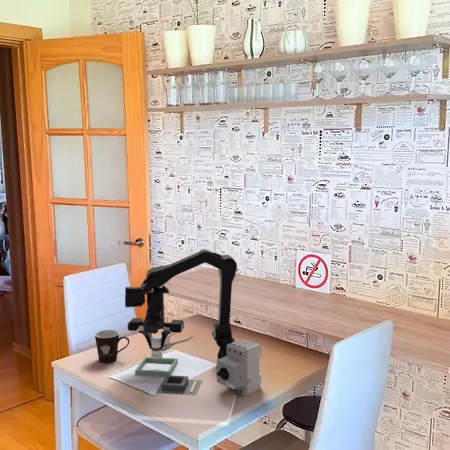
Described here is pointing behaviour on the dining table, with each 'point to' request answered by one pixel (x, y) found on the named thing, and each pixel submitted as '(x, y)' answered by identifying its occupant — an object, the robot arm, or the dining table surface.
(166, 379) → the board
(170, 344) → the pliers
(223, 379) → the circuit breaker
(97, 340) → the coffee mug
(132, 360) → the dining table surface
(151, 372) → the parts tray
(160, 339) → the white banded cylinder
